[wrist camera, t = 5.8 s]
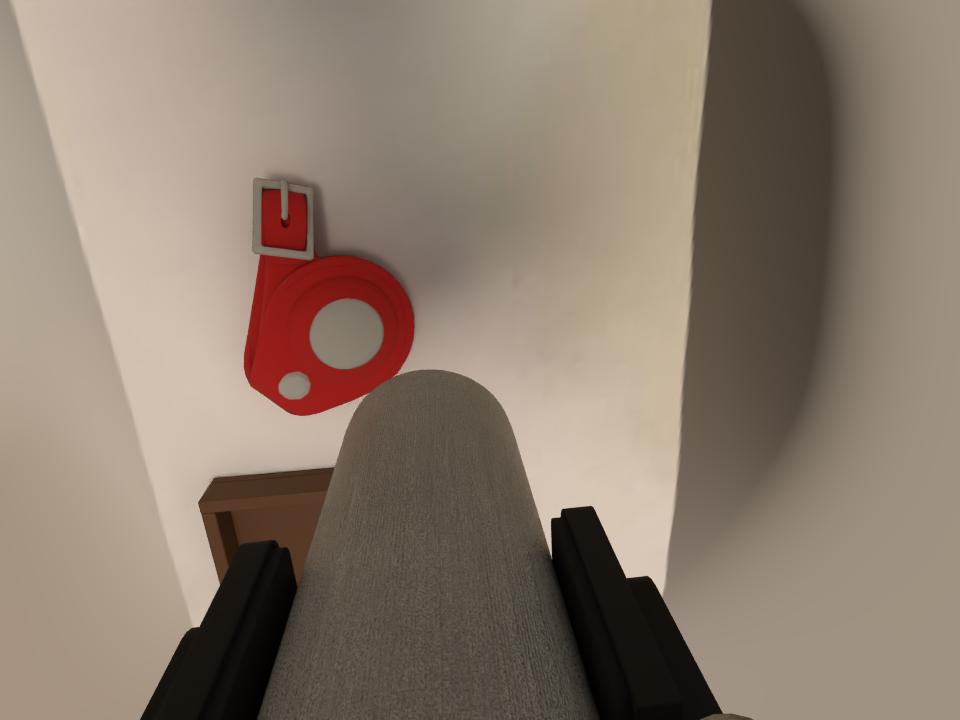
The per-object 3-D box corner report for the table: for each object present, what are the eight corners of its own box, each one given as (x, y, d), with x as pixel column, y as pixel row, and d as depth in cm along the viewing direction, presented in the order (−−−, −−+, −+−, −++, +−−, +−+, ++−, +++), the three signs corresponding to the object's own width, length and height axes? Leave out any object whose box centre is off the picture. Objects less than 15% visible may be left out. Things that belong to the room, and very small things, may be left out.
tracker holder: (455, 324, 32) (333, 458, 31) (429, 305, 36) (319, 424, 35) (281, 155, 26) (126, 320, 25) (272, 154, 29) (137, 296, 29)
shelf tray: (213, 478, 35) (197, 502, 33) (353, 465, 36) (348, 489, 33) (255, 645, 40) (244, 677, 38) (378, 632, 41) (375, 663, 38)
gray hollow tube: (323, 488, 16) (153, 1015, 6) (378, 342, 14) (274, 713, 5) (475, 534, 17) (537, 1057, 7) (539, 400, 15) (724, 811, 6)
